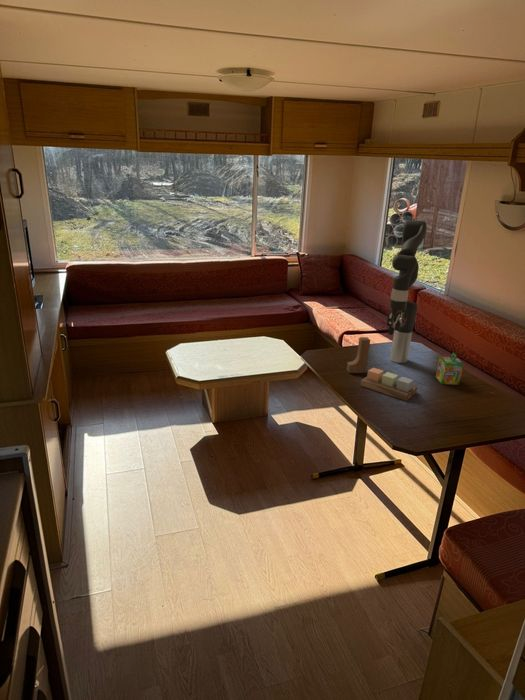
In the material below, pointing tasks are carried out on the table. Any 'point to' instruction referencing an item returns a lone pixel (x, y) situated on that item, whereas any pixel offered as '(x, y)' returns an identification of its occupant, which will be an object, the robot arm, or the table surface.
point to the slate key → (404, 384)
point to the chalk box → (449, 370)
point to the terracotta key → (375, 375)
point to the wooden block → (360, 357)
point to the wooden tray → (388, 389)
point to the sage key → (389, 379)
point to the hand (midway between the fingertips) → (393, 332)
